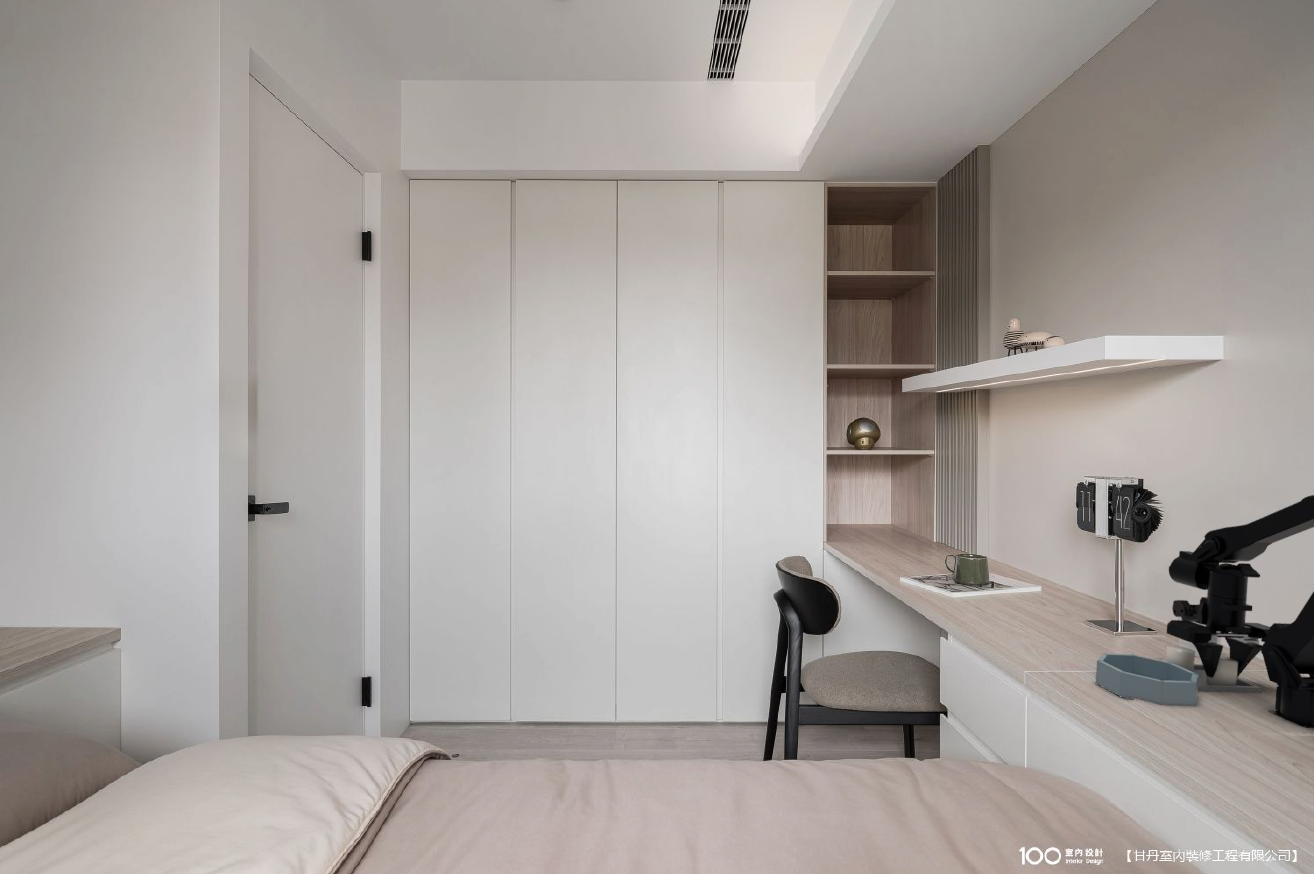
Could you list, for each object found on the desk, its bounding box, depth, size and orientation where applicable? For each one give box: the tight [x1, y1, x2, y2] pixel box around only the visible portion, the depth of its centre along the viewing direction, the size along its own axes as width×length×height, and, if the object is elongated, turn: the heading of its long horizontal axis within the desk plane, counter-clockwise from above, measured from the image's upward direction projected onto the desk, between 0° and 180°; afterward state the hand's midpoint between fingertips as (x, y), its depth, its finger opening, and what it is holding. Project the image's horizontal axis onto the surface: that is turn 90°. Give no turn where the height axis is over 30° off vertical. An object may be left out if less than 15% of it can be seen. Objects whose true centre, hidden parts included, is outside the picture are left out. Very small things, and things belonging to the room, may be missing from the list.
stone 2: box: [1165, 644, 1196, 672], centre depth 132 cm, size 4×4×5 cm
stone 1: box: [1206, 655, 1238, 686], centre depth 128 cm, size 4×4×5 cm
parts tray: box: [1194, 663, 1262, 694], centre depth 130 cm, size 12×13×2 cm
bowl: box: [1095, 652, 1199, 706], centre depth 124 cm, size 15×15×4 cm
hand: (1221, 677), depth 128 cm, fingers closed on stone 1, 4 cm apart
